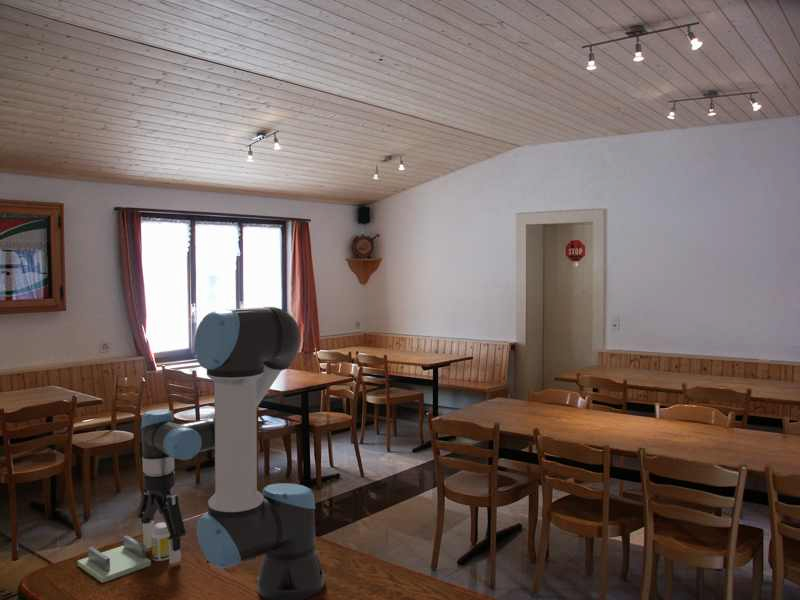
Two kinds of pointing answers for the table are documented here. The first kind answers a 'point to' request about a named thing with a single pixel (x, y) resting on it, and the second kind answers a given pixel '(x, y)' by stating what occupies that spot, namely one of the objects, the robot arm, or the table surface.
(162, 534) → the supplement bottle
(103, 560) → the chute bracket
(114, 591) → the table surface
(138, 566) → the board
